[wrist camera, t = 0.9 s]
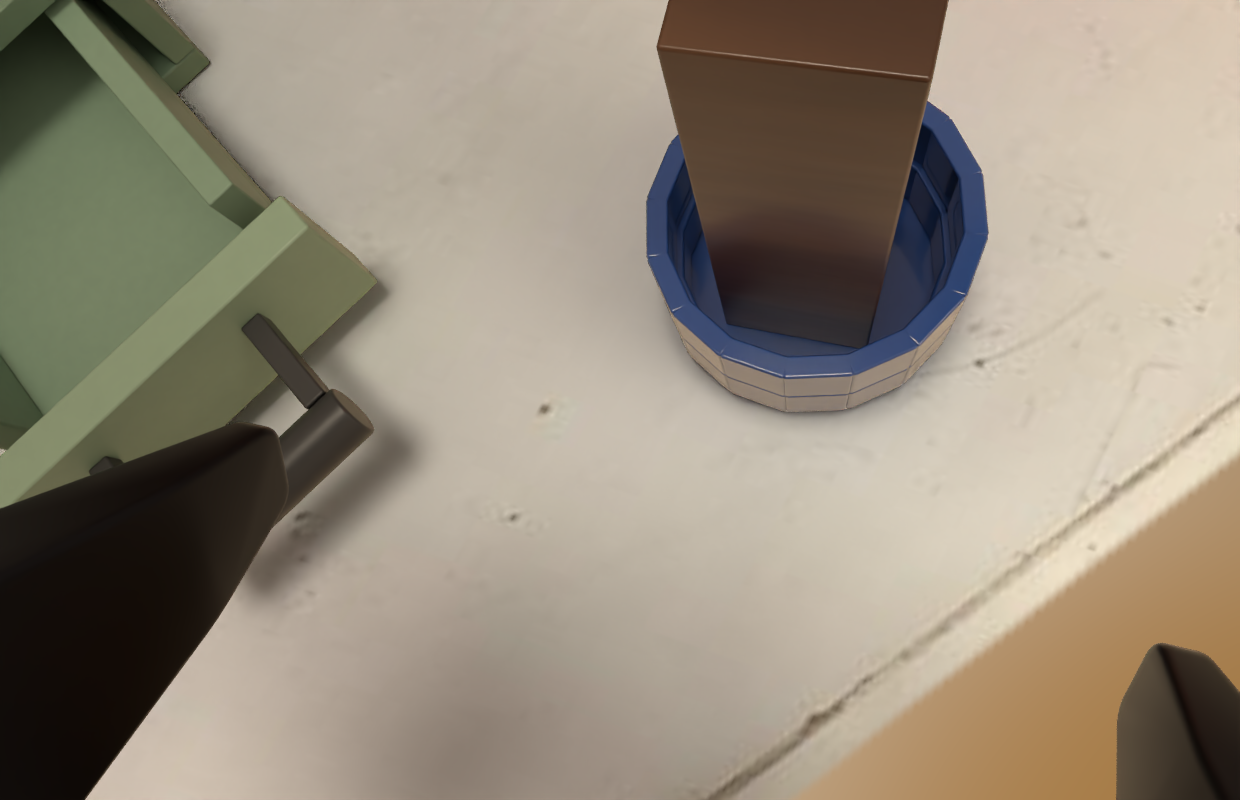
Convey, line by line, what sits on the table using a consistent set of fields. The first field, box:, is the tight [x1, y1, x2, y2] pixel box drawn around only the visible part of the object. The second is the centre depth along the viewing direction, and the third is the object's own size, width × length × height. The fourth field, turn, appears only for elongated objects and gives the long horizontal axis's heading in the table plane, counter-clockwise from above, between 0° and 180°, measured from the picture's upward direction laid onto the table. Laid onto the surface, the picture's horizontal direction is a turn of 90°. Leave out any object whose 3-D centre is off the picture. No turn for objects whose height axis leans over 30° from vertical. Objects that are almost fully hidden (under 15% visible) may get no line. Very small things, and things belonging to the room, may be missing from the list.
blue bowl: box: [646, 101, 989, 412], centre depth 22 cm, size 7×7×4 cm
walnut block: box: [657, 0, 949, 348], centre depth 18 cm, size 4×4×12 cm
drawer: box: [0, 0, 377, 528], centre depth 25 cm, size 22×10×4 cm, turn 42°
